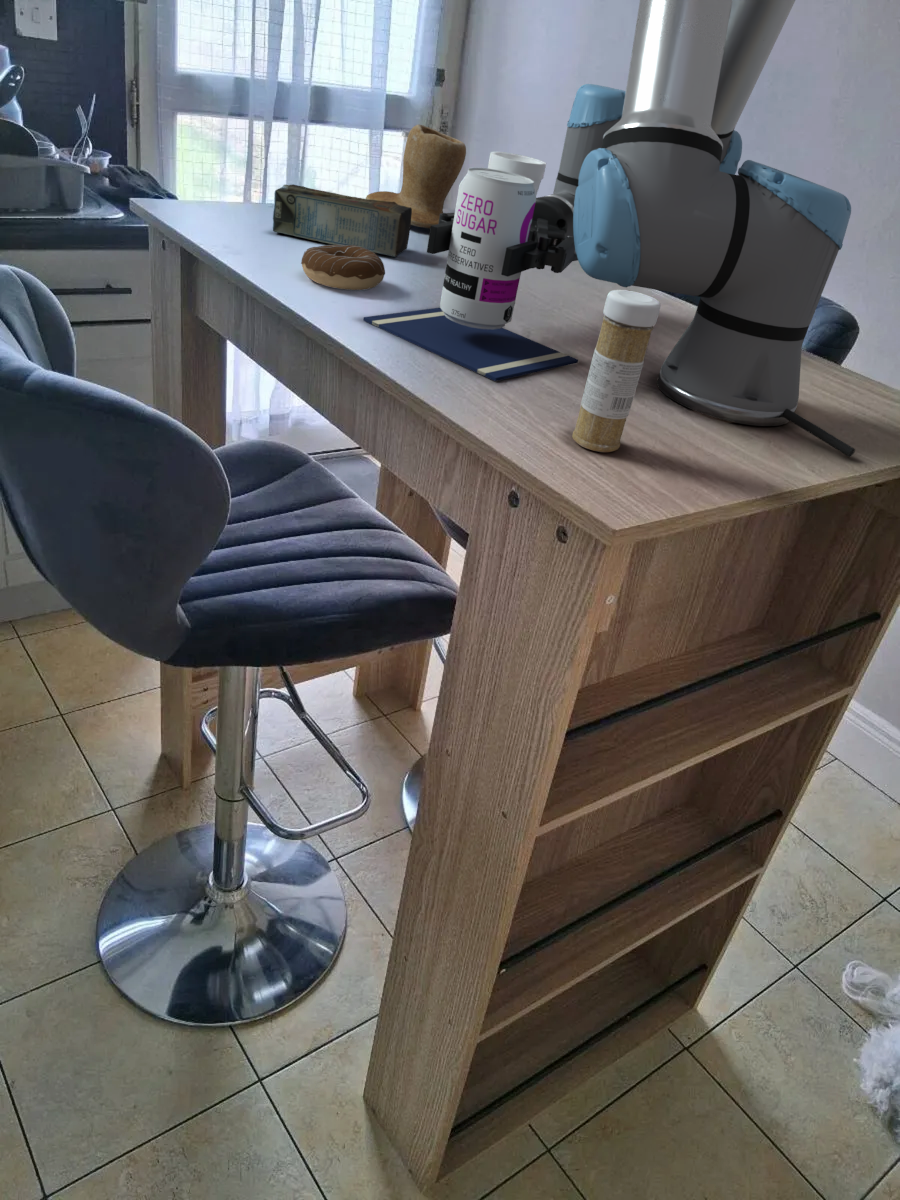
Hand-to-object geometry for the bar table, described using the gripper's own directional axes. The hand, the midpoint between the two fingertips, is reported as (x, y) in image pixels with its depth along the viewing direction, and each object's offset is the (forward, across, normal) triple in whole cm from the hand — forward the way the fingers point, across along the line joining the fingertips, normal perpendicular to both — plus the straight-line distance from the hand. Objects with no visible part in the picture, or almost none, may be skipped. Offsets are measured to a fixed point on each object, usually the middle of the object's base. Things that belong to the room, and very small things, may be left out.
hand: (469, 250), depth 93 cm
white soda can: (-5, 0, -8) cm, 9 cm away
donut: (-12, +22, -11) cm, 27 cm away
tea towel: (-5, 0, -10) cm, 11 cm away
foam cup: (-63, +22, -11) cm, 68 cm away
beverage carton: (-30, +34, -11) cm, 47 cm away
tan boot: (-57, +37, -11) cm, 69 cm away
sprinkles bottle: (+12, -21, -10) cm, 27 cm away
